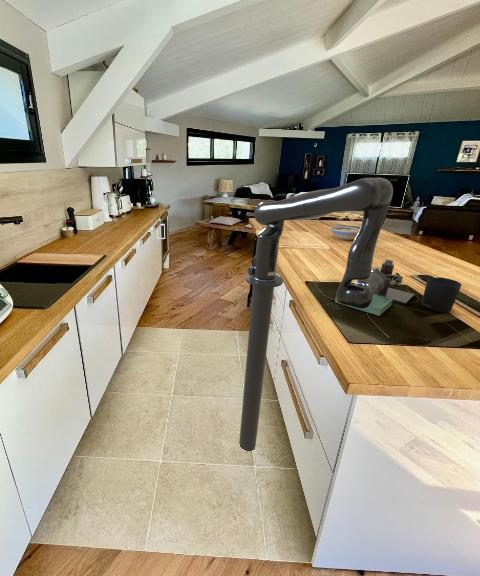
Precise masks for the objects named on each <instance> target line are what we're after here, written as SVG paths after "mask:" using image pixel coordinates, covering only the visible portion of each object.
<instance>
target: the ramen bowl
mask: <svg viewBox="0 0 480 576" xmlns="http://www.w3.org/2000/svg"><path fill="white" fill-rule="evenodd" d="M329 228H330V231H331V233H332V234H333V235H334V236H335V237H336V238H338V239H340V240H342V241H354V239H355V237H356V235H357V233H358V231H359V229H360V226H355V225H346V224H338V223H334V224H333V225H331V226H329Z"/></svg>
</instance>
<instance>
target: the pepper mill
mask: <svg viewBox="0 0 480 576" xmlns="http://www.w3.org/2000/svg"><path fill="white" fill-rule="evenodd" d="M393 263H394V260H393V259H390V258H389V259H384V262H382V263H381V268H380V269H379V271H380V272H382V273H384V274H392V275H393V272H394V268H395V264H393ZM388 288H390V285H387V286H386V287H385V288H384V289H383V290H381V291H380V292H381V293H387V291H388Z"/></svg>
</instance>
